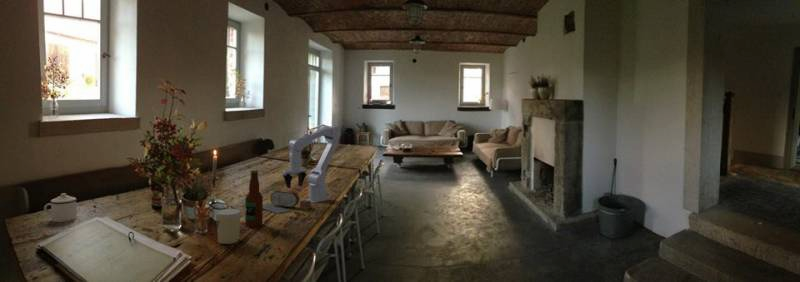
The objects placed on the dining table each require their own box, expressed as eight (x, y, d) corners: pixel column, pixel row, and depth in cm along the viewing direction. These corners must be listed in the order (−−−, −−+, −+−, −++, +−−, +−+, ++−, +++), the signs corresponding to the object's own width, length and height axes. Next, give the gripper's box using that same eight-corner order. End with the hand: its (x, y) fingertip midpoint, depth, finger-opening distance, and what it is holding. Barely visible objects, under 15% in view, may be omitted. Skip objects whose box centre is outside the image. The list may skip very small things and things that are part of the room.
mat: (271, 204, 227) (271, 203, 227) (291, 211, 216) (291, 210, 216) (257, 206, 221) (257, 206, 221) (277, 214, 210) (277, 213, 210)
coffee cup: (220, 236, 174) (220, 208, 173) (243, 236, 175) (243, 208, 174) (212, 244, 165) (212, 214, 164) (236, 244, 166) (237, 215, 165)
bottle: (245, 223, 193) (245, 169, 190) (261, 222, 196) (262, 169, 193) (245, 228, 186) (245, 172, 184) (262, 227, 189) (263, 172, 186)
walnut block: (304, 207, 226) (304, 199, 225) (310, 208, 224) (311, 200, 223) (299, 208, 222) (300, 201, 221) (306, 209, 220) (306, 202, 220)
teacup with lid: (81, 216, 192) (80, 191, 191) (70, 222, 183) (69, 196, 182) (50, 216, 189) (49, 191, 188) (38, 222, 181) (37, 196, 179)
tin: (298, 207, 224) (299, 191, 224) (296, 208, 221) (297, 192, 220) (271, 204, 225) (272, 188, 225) (269, 205, 222) (270, 189, 222)
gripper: (301, 160, 234) (300, 184, 235) (279, 162, 223) (278, 187, 224) (309, 161, 230) (308, 186, 231) (287, 163, 218) (286, 189, 220)
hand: (294, 187), depth 227 cm, fingers open, 7 cm apart
